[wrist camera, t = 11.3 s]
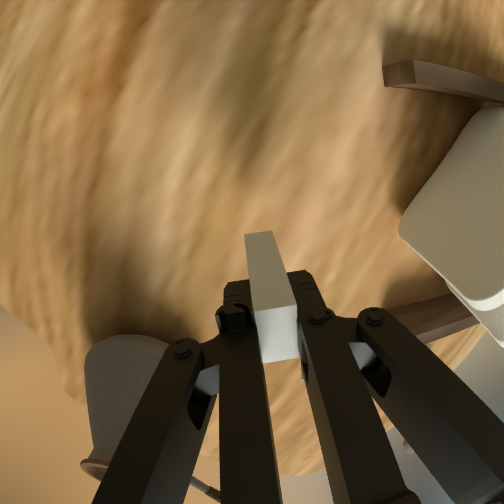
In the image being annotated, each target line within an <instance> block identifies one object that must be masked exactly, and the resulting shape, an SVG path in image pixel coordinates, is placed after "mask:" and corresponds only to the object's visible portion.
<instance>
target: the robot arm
mask: <svg viewBox="0 0 504 504" xmlns="http://www.w3.org/2000/svg"><path fill="white" fill-rule="evenodd" d="M244 237H245V246H246V255H247V263H248V272H249V279H248V280H241V281H234V282H228V284H227V285H226V287H225V288H224V299H223V303H224V304H223V305H222V306H221V307H220V308H219V309H218V310H217V311H216V314H215V318H216V321H217V325H218V329H219V332H220V333H219V334H218V335H217V336H216V337H215V338H213V339H211V340H209V341H207V342H204V343H201V344H199V343H198V342H197V341H196V340H194V339H190V338H185V339H179V340H176V341H174V342H173V343H171V344H170V345H169V346H168V347H167V349H166V350H165V352H164V354H163V356H162V358H161V360H160V362H159V364H158V366H157V368H156V370H155V372H154V373H153V375H152V377H151V379H150V381H149V383H148V385H147V387H146V389H145V391H144V393H143V395H142V397H141V399H140V401H139V403H138V405H137V407H136V409H135V411H134V413H133V416H132V418H131V420H130V422H129V424H128V426H127V428H126V430H125V432H124V434H123V436H122V438H121V440H120V442H119V445H118V447H117V449H116V451H115V453H114V455H113V457H112V459H111V462H110V464H109V466H108V468H107V470H106V472H105V475H104V477H103V479H102V481H101V483H100V486H99V488H98V490H97V492H96V494H95V497H94V499H93V501H92V503H91V504H183V502H184V499H185V496H186V493H187V490H188V487H189V484H190V480H191V477H192V474H193V471H194V468H195V465H196V461H197V458H198V455H199V452H200V449H201V446H202V442H203V439H204V436H205V433H206V430H207V426H208V423H209V420H210V417H211V414H212V410H213V407H214V404H215V401H216V397H217V393H219V454H220V494H221V504H283V501H282V494H281V487H280V480H279V473H278V466H277V459H276V452H275V445H274V438H273V431H272V424H271V417H270V409H269V402H268V395H267V388H266V381H265V374H264V368H263V363H269V362H275V361H281V360H287V359H293V358H299V353H300V357H301V373H302V379H304V380H305V384H306V388H307V392H308V396H309V400H310V404H311V408H312V412H313V416H314V420H315V424H316V429H317V433H318V437H319V441H320V445H321V450H322V454H323V458H324V462H325V467H326V471H327V475H328V480H329V484H330V488H331V493H332V497H333V501H334V504H421V502H420V500H419V498H418V496H417V495H416V494H415V493H414V492H412V491H410V490H409V489H407V487H406V485H405V483H404V480H403V478H402V475H401V472H400V469H399V466H398V463H397V461H396V458H395V455H394V453H393V450H392V447H391V445H390V442H389V440H388V437H387V434H386V432H385V429H384V427H383V424H382V421H381V419H380V416H379V414H378V411H377V409H376V407H375V404H374V402H373V399H374V400H375V401H376V403H377V404H378V405H379V406H380V408H381V409H382V410H383V411H384V413H385V414H386V415H387V417H388V418H389V419H390V420H391V422H392V423H393V424H394V426H395V427H396V428H397V429H398V431H399V432H400V433H401V434H402V436H403V437H404V439H405V440H406V441H407V442H408V444H409V445H410V446H411V448H412V449H413V450H414V451H415V453H416V454H417V455H418V456H419V458H420V459H421V460H422V462H423V463H424V464H425V466H426V467H427V468H428V470H429V471H430V472H431V474H432V475H433V476H434V477H435V479H436V480H437V481H438V483H439V484H440V485H441V487H442V488H443V489H444V490H445V492H446V493H447V494H448V496H449V497H450V498H451V500H452V501H453V502H454V503H455V504H504V423H503V422H502V421H501V420H500V419H499V418H498V417H497V416H496V415H495V414H494V413H493V412H492V410H491V409H490V408H489V407H488V406H487V405H486V404H485V403H484V402H483V401H482V400H481V399H480V398H479V397H478V396H477V395H476V394H475V393H474V392H473V391H472V390H471V389H470V388H469V387H468V386H467V385H466V384H465V383H464V382H463V381H462V380H461V379H460V378H459V377H458V376H457V375H456V374H455V373H454V372H453V371H452V370H451V369H450V368H449V367H448V366H447V365H445V364H444V363H443V362H442V361H441V360H440V359H439V358H438V357H437V356H436V355H435V354H434V353H433V352H432V351H431V350H430V349H429V348H428V347H427V346H425V345H424V344H423V343H422V342H421V341H420V340H419V339H418V338H417V337H416V336H415V335H414V334H413V333H411V332H410V331H409V330H408V329H407V328H406V327H405V326H404V325H403V324H402V323H400V322H399V321H398V320H397V319H396V318H395V317H394V316H393V315H392V314H390V313H389V312H388V311H386V310H385V309H382V308H378V307H370V308H366V309H364V310H363V311H361V312H360V313H359V315H358V318H344V317H339V316H336V315H335V313H334V312H333V311H332V310H331V309H329V308H327V307H326V305H325V302H324V300H323V298H322V296H321V294H320V291H319V289H318V288H317V285H316V283H315V281H314V279H313V276H312V275H311V274H310V273H308V272H307V271H306V270H301V271H294V272H288V273H286V270H285V267H284V264H283V261H282V258H281V256H280V253H279V250H278V247H277V244H276V241H275V238H274V235H273V232H272V230H271V231H265V232H258V233H251V234H245V235H244ZM371 396H372V397H373V399H372V397H371Z"/></svg>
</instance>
